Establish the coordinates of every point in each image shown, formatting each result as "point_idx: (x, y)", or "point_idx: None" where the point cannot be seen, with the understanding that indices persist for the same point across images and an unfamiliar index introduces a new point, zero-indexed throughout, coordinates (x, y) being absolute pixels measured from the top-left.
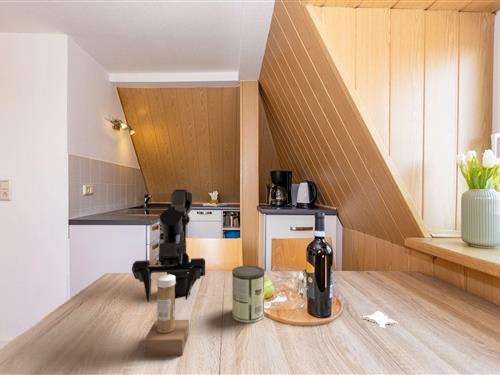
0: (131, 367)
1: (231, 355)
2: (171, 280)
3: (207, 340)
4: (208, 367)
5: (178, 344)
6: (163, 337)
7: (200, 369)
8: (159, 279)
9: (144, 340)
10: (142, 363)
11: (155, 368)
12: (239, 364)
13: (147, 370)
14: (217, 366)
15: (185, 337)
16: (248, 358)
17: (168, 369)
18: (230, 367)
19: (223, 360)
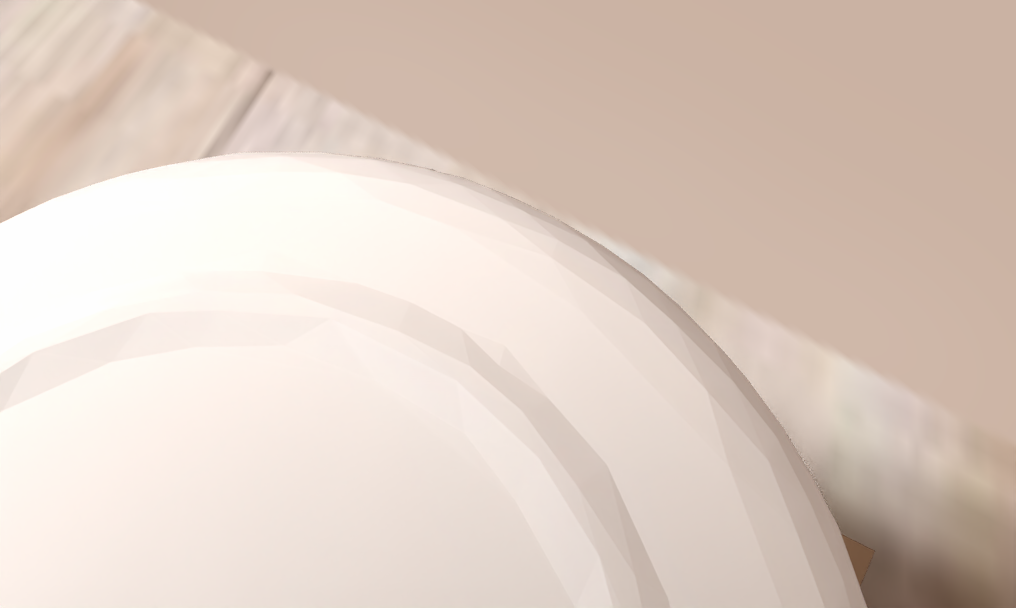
0: (959, 462)
1: (95, 175)
2: (106, 204)
3: None
4: (326, 133)
5: None
6: None
7: (390, 140)
8: (757, 521)
9: (867, 550)
10: (847, 468)
11: (733, 330)
12: (115, 60)
13: (807, 339)
14: (261, 112)
15: None
16: (17, 86)
17: (626, 261)
18: (188, 61)
19: (184, 151)
